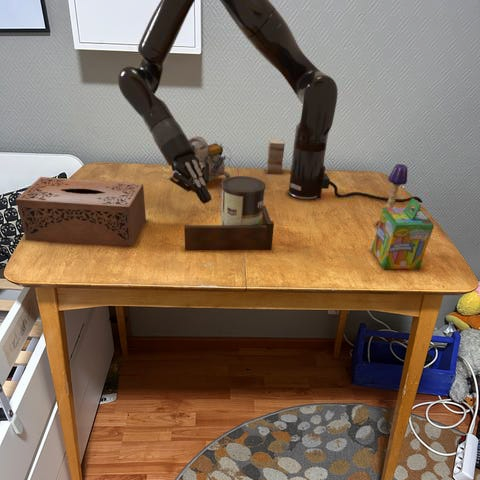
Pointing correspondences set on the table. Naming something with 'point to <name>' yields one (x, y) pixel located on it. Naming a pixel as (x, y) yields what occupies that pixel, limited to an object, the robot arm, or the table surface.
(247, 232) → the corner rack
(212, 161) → the robotic toy
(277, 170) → the brown banded block
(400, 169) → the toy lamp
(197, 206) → the table surface
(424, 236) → the chalk box
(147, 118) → the robot arm
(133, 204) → the tissue box cover
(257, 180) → the coffee can
